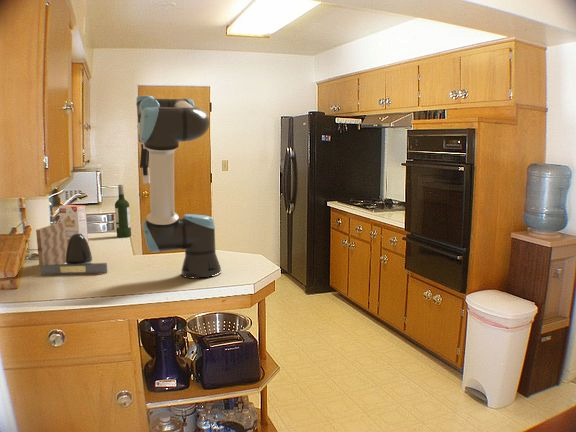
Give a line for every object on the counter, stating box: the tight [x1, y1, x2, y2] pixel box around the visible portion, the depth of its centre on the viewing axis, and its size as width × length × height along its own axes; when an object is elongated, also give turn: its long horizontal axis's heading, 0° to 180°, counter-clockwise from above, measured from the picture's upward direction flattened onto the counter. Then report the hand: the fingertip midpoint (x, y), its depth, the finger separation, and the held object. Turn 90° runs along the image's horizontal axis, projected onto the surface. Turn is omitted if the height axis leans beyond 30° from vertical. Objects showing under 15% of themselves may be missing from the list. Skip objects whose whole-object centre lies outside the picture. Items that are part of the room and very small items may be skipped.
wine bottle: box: [114, 184, 132, 239], centre depth 289 cm, size 8×8×30 cm
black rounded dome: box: [65, 234, 93, 264], centre depth 210 cm, size 10×10×15 cm
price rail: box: [39, 262, 109, 276], centre depth 202 cm, size 2×26×4 cm, turn 91°
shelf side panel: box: [35, 221, 68, 275], centre depth 216 cm, size 24×2×18 cm, turn 0°
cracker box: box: [58, 204, 89, 245], centre depth 270 cm, size 14×6×21 cm, turn 62°
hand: (150, 182), depth 220 cm, fingers open, 13 cm apart
